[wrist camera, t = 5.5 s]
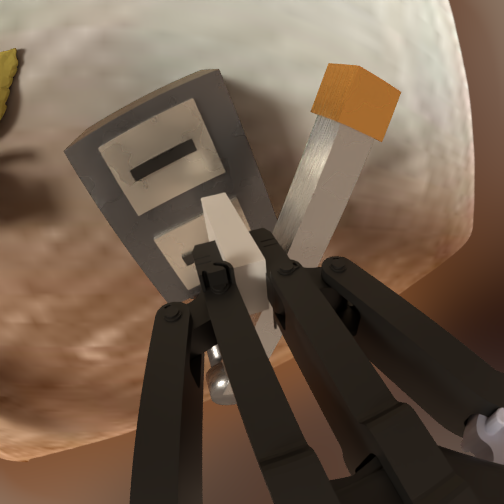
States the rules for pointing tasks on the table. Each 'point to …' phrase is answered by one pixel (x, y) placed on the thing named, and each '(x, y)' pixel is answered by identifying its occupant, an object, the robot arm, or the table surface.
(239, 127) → the block
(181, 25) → the table surface
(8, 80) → the figurine
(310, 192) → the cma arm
